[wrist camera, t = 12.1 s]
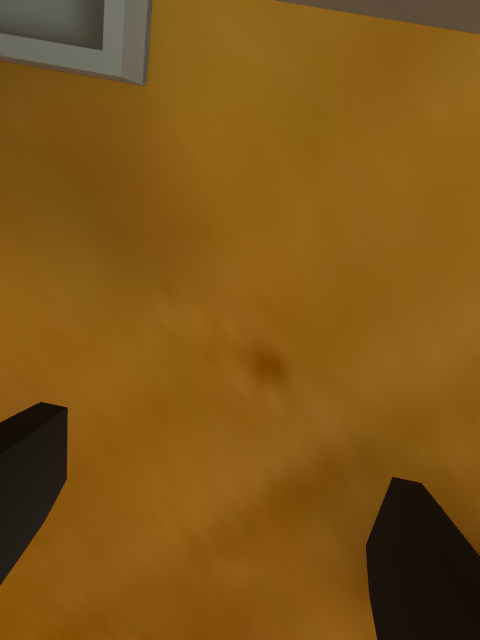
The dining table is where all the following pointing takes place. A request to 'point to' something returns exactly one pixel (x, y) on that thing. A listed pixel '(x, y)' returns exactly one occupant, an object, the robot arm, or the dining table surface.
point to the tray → (78, 36)
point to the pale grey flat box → (411, 11)
